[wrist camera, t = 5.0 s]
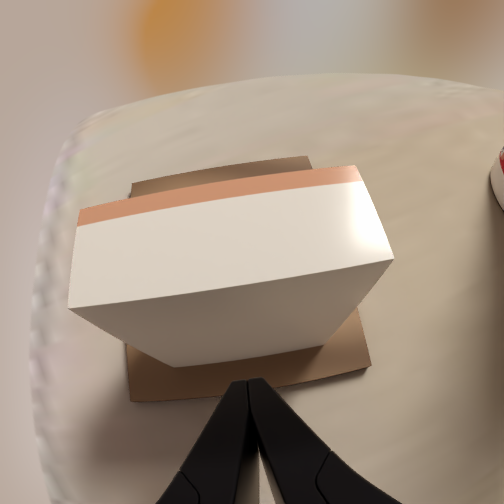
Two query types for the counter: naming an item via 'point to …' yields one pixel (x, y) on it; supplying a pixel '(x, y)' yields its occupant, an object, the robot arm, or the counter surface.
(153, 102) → the counter surface
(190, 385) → the board
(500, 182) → the fruit juice
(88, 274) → the white box
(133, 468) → the counter surface
